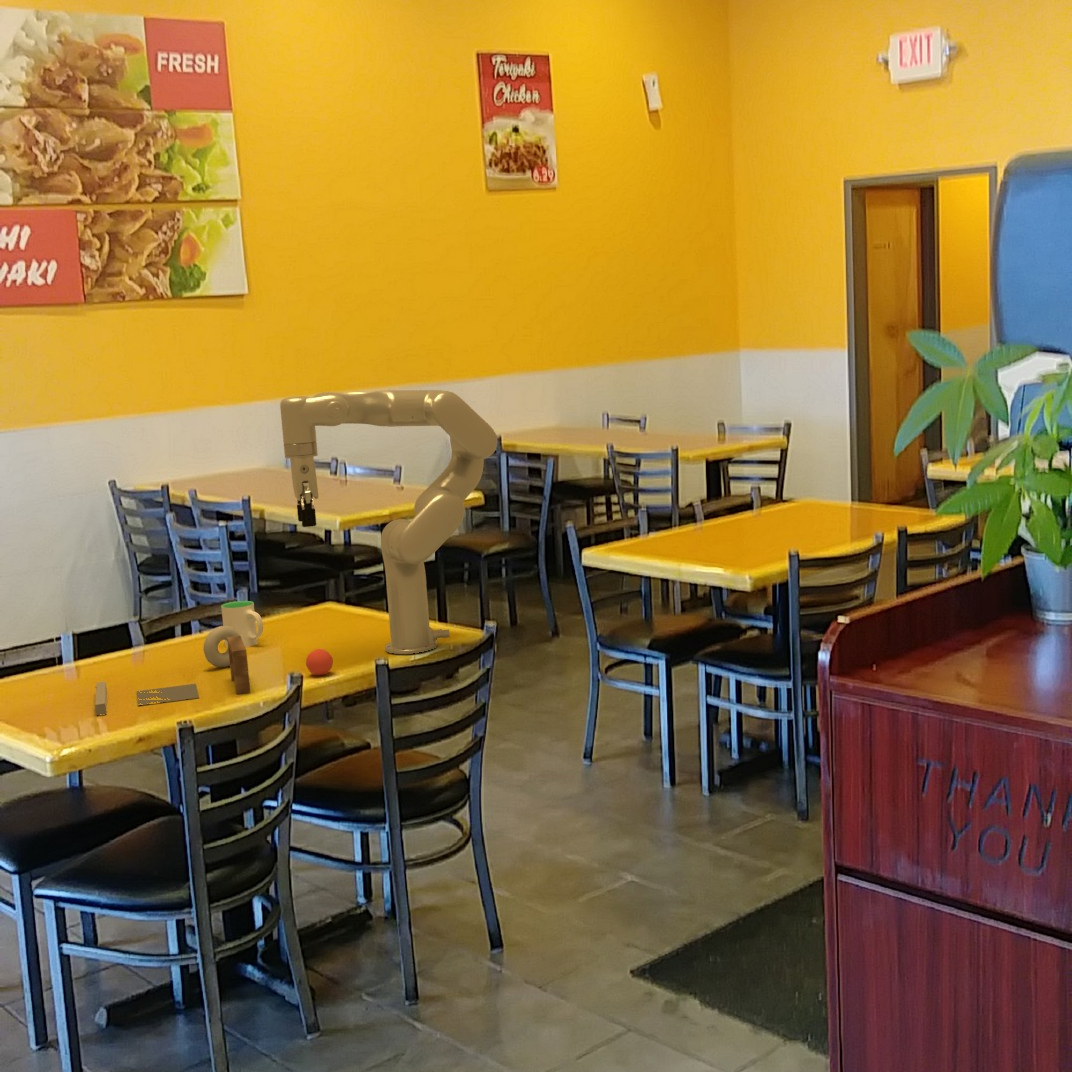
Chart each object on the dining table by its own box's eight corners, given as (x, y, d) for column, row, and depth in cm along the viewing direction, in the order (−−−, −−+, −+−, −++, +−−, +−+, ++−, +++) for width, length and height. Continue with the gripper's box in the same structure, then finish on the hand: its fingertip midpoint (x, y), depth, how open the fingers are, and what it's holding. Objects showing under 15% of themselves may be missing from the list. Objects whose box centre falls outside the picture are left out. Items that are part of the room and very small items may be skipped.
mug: (275, 643, 358) (271, 602, 356) (253, 650, 351) (249, 609, 349) (241, 639, 364) (237, 600, 362) (218, 646, 357) (214, 606, 356)
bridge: (244, 676, 325) (240, 635, 323) (250, 692, 310) (246, 649, 309) (231, 678, 324) (227, 637, 322) (236, 694, 310) (232, 651, 308)
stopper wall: (107, 692, 319) (105, 681, 318) (106, 714, 300) (105, 703, 300) (97, 693, 318) (96, 682, 318) (96, 716, 299) (95, 704, 299)
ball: (331, 670, 326) (329, 645, 325) (335, 676, 320) (333, 650, 319) (305, 673, 324) (303, 648, 323) (309, 679, 318) (306, 653, 317)
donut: (210, 672, 331) (205, 631, 330) (202, 670, 334) (198, 629, 332) (247, 663, 338) (243, 622, 336) (239, 661, 340) (235, 621, 339)
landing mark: (195, 684, 321) (195, 683, 321) (199, 698, 308) (199, 697, 308) (136, 692, 317) (136, 691, 317) (137, 706, 305) (137, 705, 305)
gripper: (321, 452, 318) (327, 526, 321) (313, 446, 335) (319, 517, 337) (287, 454, 316) (294, 530, 319) (281, 448, 333) (287, 520, 336)
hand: (307, 523), depth 328 cm, fingers open, 9 cm apart
